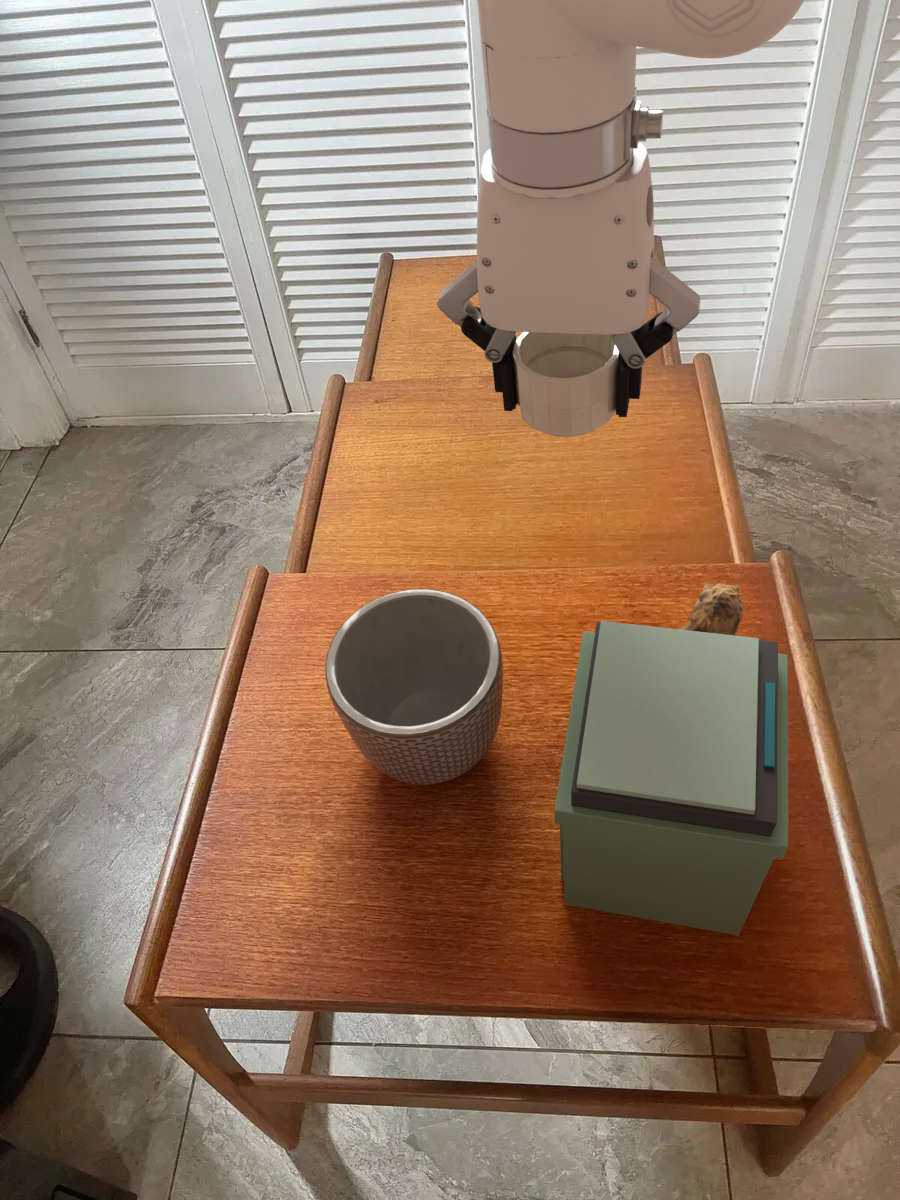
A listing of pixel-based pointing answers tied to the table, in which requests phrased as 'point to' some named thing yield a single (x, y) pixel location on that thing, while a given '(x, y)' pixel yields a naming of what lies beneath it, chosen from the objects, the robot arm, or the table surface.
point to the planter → (418, 684)
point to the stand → (664, 845)
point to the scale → (680, 728)
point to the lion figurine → (716, 610)
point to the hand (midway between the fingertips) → (567, 399)
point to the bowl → (565, 381)
